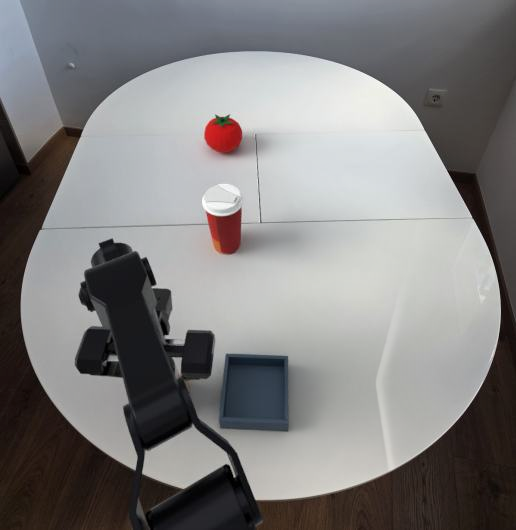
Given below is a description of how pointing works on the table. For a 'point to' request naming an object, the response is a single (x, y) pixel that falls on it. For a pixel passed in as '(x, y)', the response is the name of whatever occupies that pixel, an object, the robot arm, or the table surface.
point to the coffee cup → (224, 217)
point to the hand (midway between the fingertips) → (157, 376)
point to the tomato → (223, 134)
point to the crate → (254, 393)
